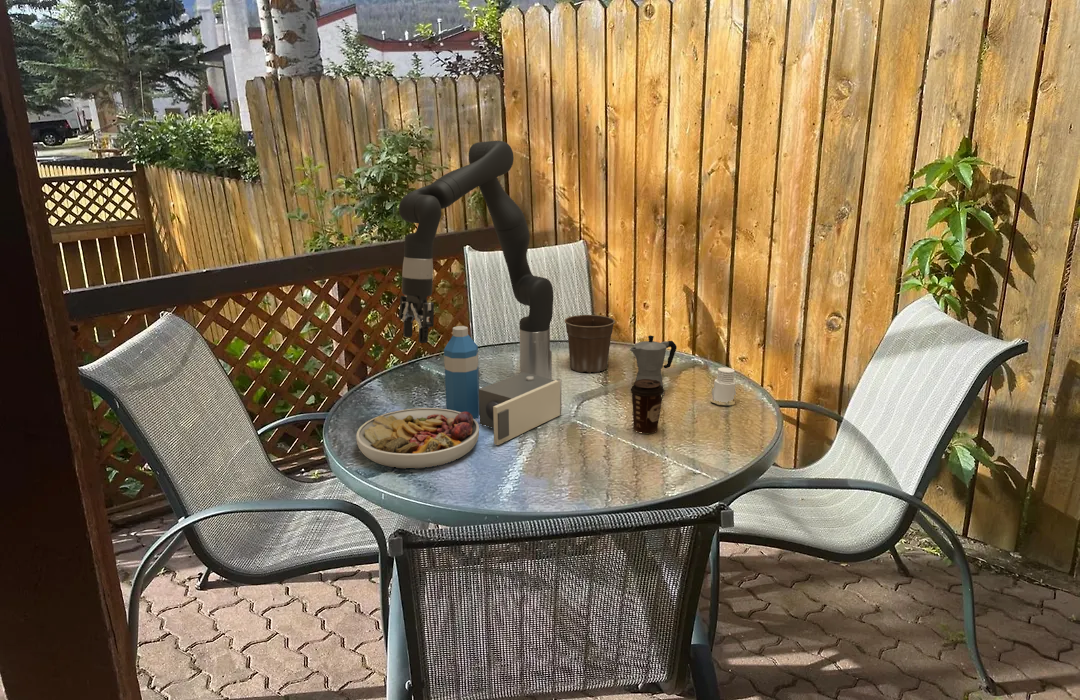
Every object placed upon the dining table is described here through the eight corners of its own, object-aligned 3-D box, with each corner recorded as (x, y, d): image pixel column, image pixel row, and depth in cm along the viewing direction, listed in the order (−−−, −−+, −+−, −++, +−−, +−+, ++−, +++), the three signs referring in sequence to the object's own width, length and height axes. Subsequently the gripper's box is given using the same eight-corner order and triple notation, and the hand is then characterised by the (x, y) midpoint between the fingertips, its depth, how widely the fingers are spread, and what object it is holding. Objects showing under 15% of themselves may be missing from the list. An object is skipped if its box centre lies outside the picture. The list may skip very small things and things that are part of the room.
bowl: (371, 484, 172) (369, 451, 170) (347, 436, 198) (345, 407, 196) (496, 460, 184) (496, 430, 181) (458, 418, 210) (457, 391, 208)
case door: (558, 412, 211) (558, 378, 208) (563, 414, 210) (563, 380, 207) (493, 443, 191) (492, 406, 188) (499, 445, 190) (498, 408, 187)
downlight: (718, 408, 215) (722, 374, 212) (703, 400, 221) (707, 367, 218) (741, 405, 218) (745, 372, 215) (726, 397, 224) (730, 365, 222)
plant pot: (588, 357, 262) (589, 311, 257) (624, 368, 251) (625, 320, 246) (554, 367, 252) (554, 319, 247) (589, 379, 240) (590, 329, 236)
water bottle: (486, 412, 213) (484, 325, 206) (469, 424, 205) (466, 334, 198) (457, 407, 217) (454, 322, 210) (439, 418, 209) (435, 330, 202)
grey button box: (522, 405, 218) (522, 369, 215) (556, 414, 211) (556, 377, 208) (476, 425, 204) (475, 387, 201) (510, 436, 197) (510, 397, 194)
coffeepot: (637, 402, 220) (639, 342, 215) (621, 392, 228) (622, 334, 223) (682, 395, 226) (685, 336, 221) (665, 385, 234) (668, 328, 229)
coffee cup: (665, 426, 203) (667, 379, 199) (659, 437, 195) (661, 389, 192) (633, 422, 206) (634, 376, 202) (626, 433, 198) (627, 386, 194)
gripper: (444, 279, 188) (441, 344, 191) (418, 272, 199) (415, 334, 202) (417, 279, 183) (414, 345, 186) (391, 272, 194) (389, 335, 197)
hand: (415, 339), depth 194 cm, fingers open, 8 cm apart
